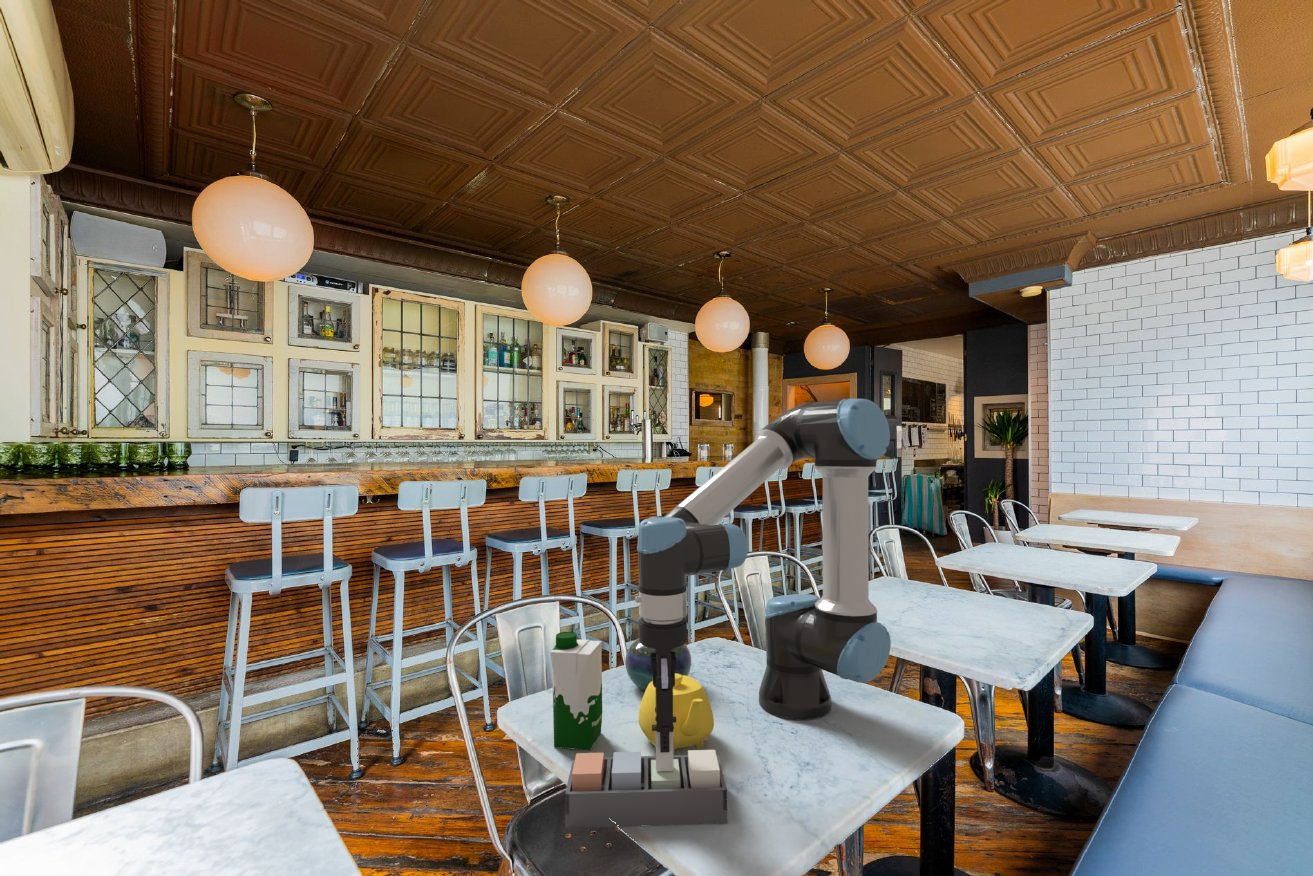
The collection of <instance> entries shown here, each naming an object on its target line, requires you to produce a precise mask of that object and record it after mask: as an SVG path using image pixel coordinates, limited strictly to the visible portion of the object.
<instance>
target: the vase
mask: <svg viewBox="0 0 1313 876" xmlns="http://www.w3.org/2000/svg"><path fill="white" fill-rule="evenodd" d="M654 651H655V649H654V648H648V647H645V646H643V645H642V644H641V643H640V641H639V637H638V638H636V640H635V641H633V642H632V643H631V644H630V645H629V647H628V649H627V651H626V654H625V658H624V659H625V663H624V664H625V669H626V672H627V675H628V677H629V679H630V680H631V681H632V683H633V684H634V685H635V686H636V687H638V688H639V689H641V690H643V691H646V689H647V687H648V685H649V683H650V682H652V681H653V671H652V669H651V652H654ZM671 651H675V657H676V670H675V674H680V675H685V676H689V674H690V672H691V667H692V655H691V651H690V649H689V647H688V645H687V644H686V643H685V644H684V645H682V646H680V647H675V648H673V649H672V650H671Z"/></svg>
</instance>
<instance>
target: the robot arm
mask: <svg viewBox="0 0 1313 876" xmlns="http://www.w3.org/2000/svg"><path fill="white" fill-rule="evenodd" d="M890 440H891V432H890V426H889V423H888V419H887V417H886V416H885V413H884V412H883V411H882V409H881V408H880V406H879V405H877V403H875V402H873V401H872V400H870V399H867V398H850V397H849V398H843V399H833V400H825V401H823V400H821V401H809V402H805V403H801V404H798V405H796V406H794V407H792V408H790V409H788V410H787V411H785V412H783V413H782V414H780V415H779V416H777V417H776V418H774V419H773V420H772V421H770V422H768V424H766V425H765V426H764V427H763V428H762V429H760V430H759V431H758V432H757V433H756V434H755V438H754V441H753V442H752V443H751V444H750V445H748V446H747V447H746V448H745V449H744V450H743V451H742V452H740V453H739V454H737V456H735V457H734V458H733V459H732V460H731V461H730V462H728V463H727V464H725V466H723V467H722V468H721V469H720V470H718V471H717V472H716V473H715V474H714V475H713V476H711V477H710V478H709V479H707V481H705V482H704V483H703V484H702V485H700V486H699V487H698V488H697V489H695V490H694V491H693V492H692V493H691V494H690V495H688V496H687V497H685V499H683V501H681V502H680V503H678V505H676V506H675V507H674V508H672V510H670V511H669V512H667V513H666V514H665V515H664V516H663V515H657V516H651V517H649V518H648V517H647V518H645V519H643V520H642V521H641V522H640V523H639V525H638V533H637V546H636V550H637V567H638V568H637V569H638V571H637V572H638V574H637V575H638V596H635V598H634V602H635V603H637V604H638V614H639V616H640V619H639V620H638V638H639V641H640V643H641V644H642V645H643V646H645V647H648V648H654V649H655V651H654V652H651V669H652V671H653V686H654V687H655V688H656V707H655V712H656V717H655V721H656V723H657V724H656V725H652V731H656V746H655V756H656V771H674V766H673V729H674V726H673V723H676V717H673V687H674V686H675V670H676V657H675V651H671V650H672V649H673V648H675V647H680V646H682V645H684V644H686V643H687V640H688V623H687V622H688V620H687V619H686V616H687V614H688V600H687V599H688V593H687V592H688V591H687V581H688V580H687V577H689V576H694V575H702V574H708V573H714V572H720V571H721V572H722V571H723V572H726V571H728V570H731V569H735V568H738V567H740V566H742V565H743V564H744V562H745V561H746V560H747V558H748V557H747V556H748V552H749V551H748V545H749V544H748V540H747V537H746V533H744V531H743V530H742V529H741V527H739V526H738V525H736V524H733V523H730V524H729V523H728V524H727V523H726V524H725V523H719V522H720V521H721V520H723V519H725V517H726V516H727V515H728V514H730V513H731V512H732V511H733V510H734V509H735V508H736V507H738V505H740V504H741V503H742V502H743V501H744V500H745V499H747V498H748V497H749V496H750V495H751V494H752V493H753V492H754V491H756V490H757V489H758V488H759V487H760V486H762V485H763V484H764V482H766V481H767V480H769V478H770V477H772V475H774V474H775V473H777V471H778V470H784V469H785V470H786V469H788V468H789V467H791V466H792V465H793V463H795V462H797V461H799V460H803V459H809V458H811V459H812V458H813V459H814V468H815V469H816V470H817V471H818V472H819V473H820V475H822V476H821V477H822V596H821V597H819V596H818V595H815V594H807V593H806V594H805V593H800V594H799V593H795V594H784V595H778V596H775V597H772V598H770V599H768V600H767V602H766V604H765V616H764V620H765V623H764V624H765V649H766V650H765V652H766V653H765V654H766V667H765V671H764V674H763V677H762V679H761V683H760V687H759V690H758V703H759V705H760V707H761V708H762V709H763V710H764V711H766V712H768V713H770V715H773V716H776V717H780V718H782V719H783V718H784V719H789V720H799V721H803V720H806V721H808V720H814V719H819V718H822V717H825V716H826V715H828V714H829V713H830V711H831V710H832V697H831V696H832V695H831V692H830V690H829V686H828V684H827V681H826V678H825V676H824V672H823V671H826V672H827V673H828V672H829V673H830V674H833V675H835V676H837V677H839V678H841V679H842V680H849V681H853V682H854V683H855V682H856V683H861V684H862V683H863V684H864V683H867V682H870V681H872V680H874V679H875V678H877V677H878V676H879V674H880V673H881V672H882V671H883V669H884V668H885V666H886V664H887V662H888V659H889V656H890V653H891V652H890V651H891V644H892V642H891V641H892V640H891V634H890V632H889V631H888V629H887V627H886V626H885V625H884V624H882V623H881V622H878V609H877V607H876V606H875V605H874V603H872V601H870V599H869V596H870V595H869V575H870V573H869V477H870V475H871V474H872V473H873V472H874V471H875V470H876V469H877V460H878V459H879V458H881V457H883V456H884V455H885V454H886V452H887V448H888V447H889V445H890V442H891V441H890ZM718 523H719V524H718Z"/></svg>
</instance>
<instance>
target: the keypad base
mask: <svg viewBox="0 0 1313 876" xmlns="http://www.w3.org/2000/svg"><path fill="white" fill-rule="evenodd" d="M716 756H717V760H718V765H719V769H720V788H691V786H690V779H689V771H688V754H680V755H675V754H674V755H673V759H678V762H679V771H680V782H681V789H651V760H656V755H641V790H613V791H612V765H613V756H606V757H605V756H604V776H603V784H602V791H576V792H572V772H573V767H574V762H575V758H576V757H573V758H572V762H571V765H570V770H569V774H568V778H567V779H568V780H567V783H566V787H565V793H564V815H565V816H564V818H565V819H564V820H565V822H564V824H565V829H582V828H583V829H584V828H586V829H588V828H592V829H593V828H620V827H621V828H622V827H642V826H641V825H651V826H650V827H654V826H655V827H657V826H660V827H662V826H690V825H691V826H693V825H722V824H723V825H725V824H728V820H729V819H728V788H727V784H726V780H725V776H724V771H723V767H722V763H721V759H720V755H719V753H718V754H717V753H716ZM609 818H610V819H611V820H612V821H614V822H616V824H615V823H614V822H612V821H611V820H610V819H609ZM617 825H619V826H617Z"/></svg>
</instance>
